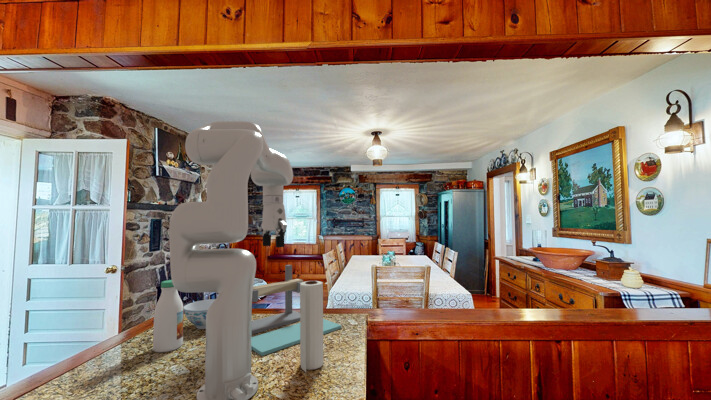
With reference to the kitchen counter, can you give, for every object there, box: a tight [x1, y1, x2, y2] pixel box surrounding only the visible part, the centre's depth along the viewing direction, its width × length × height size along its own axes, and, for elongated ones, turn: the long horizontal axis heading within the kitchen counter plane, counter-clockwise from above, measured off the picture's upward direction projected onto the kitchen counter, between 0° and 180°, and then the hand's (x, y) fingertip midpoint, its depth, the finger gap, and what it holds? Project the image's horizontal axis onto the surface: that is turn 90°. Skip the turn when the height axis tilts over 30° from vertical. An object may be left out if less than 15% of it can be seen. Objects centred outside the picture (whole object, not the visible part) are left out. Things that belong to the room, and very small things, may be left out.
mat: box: [251, 318, 342, 357], centre depth 100 cm, size 13×30×1 cm, turn 135°
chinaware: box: [183, 298, 216, 330], centre depth 111 cm, size 15×15×8 cm
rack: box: [252, 264, 302, 336], centre depth 113 cm, size 10×24×20 cm, turn 135°
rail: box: [253, 278, 304, 298], centre depth 113 cm, size 4×24×3 cm, turn 135°
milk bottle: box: [152, 279, 184, 353], centre depth 93 cm, size 8×8×20 cm
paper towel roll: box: [299, 280, 324, 373], centre depth 80 cm, size 7×6×21 cm
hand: (273, 246), depth 114 cm, fingers open, 9 cm apart
